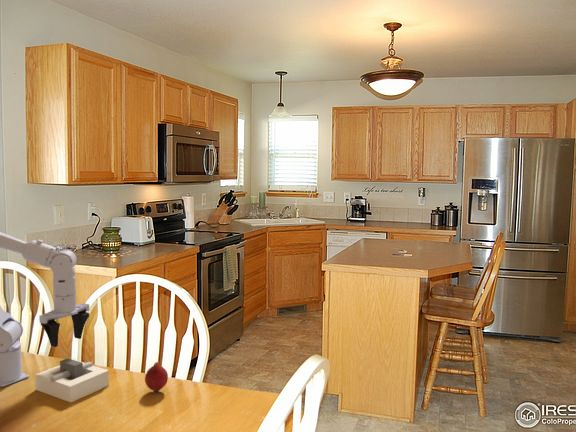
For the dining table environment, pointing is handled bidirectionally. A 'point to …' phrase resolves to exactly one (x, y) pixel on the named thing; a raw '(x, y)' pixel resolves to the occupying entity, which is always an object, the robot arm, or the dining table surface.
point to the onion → (156, 377)
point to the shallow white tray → (72, 382)
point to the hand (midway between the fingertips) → (66, 341)
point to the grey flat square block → (72, 368)
